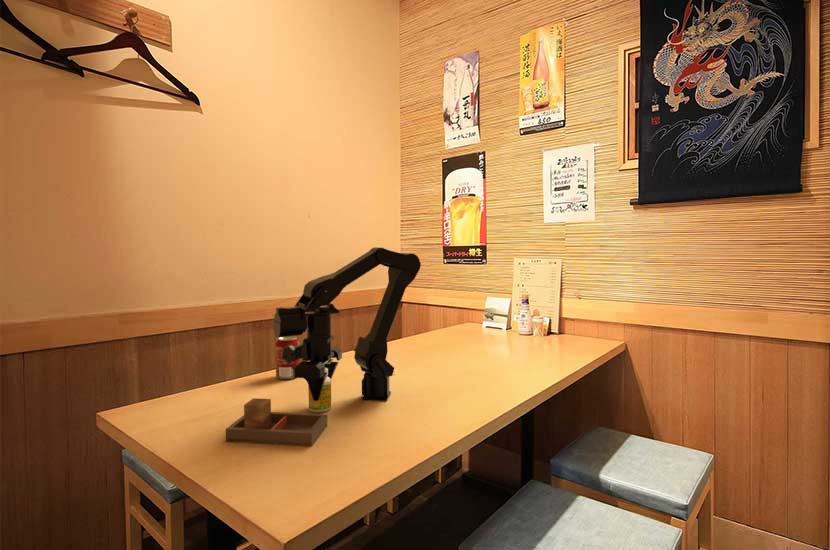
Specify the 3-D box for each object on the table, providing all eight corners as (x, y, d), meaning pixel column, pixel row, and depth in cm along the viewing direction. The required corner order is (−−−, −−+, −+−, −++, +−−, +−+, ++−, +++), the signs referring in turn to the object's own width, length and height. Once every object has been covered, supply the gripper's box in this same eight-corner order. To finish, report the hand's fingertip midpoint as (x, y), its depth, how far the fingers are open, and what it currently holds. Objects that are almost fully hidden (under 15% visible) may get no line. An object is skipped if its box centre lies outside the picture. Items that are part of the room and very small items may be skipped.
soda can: (293, 381, 132) (292, 340, 131) (271, 379, 133) (271, 339, 132) (303, 374, 138) (302, 335, 137) (283, 373, 139) (282, 335, 139)
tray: (327, 426, 99) (327, 414, 99) (311, 446, 89) (311, 433, 89) (249, 422, 101) (249, 410, 101) (225, 441, 91) (225, 429, 91)
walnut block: (271, 426, 98) (270, 399, 97) (263, 433, 94) (262, 405, 93) (253, 425, 98) (252, 398, 98) (244, 433, 94) (243, 404, 94)
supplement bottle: (320, 414, 106) (319, 373, 105) (304, 409, 109) (303, 370, 108) (336, 407, 110) (335, 368, 110) (319, 403, 113) (319, 365, 113)
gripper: (301, 325, 119) (302, 383, 120) (270, 340, 100) (271, 409, 101) (342, 326, 117) (342, 385, 118) (318, 341, 99) (319, 411, 100)
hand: (320, 396), depth 109 cm, fingers closed on supplement bottle, 5 cm apart
